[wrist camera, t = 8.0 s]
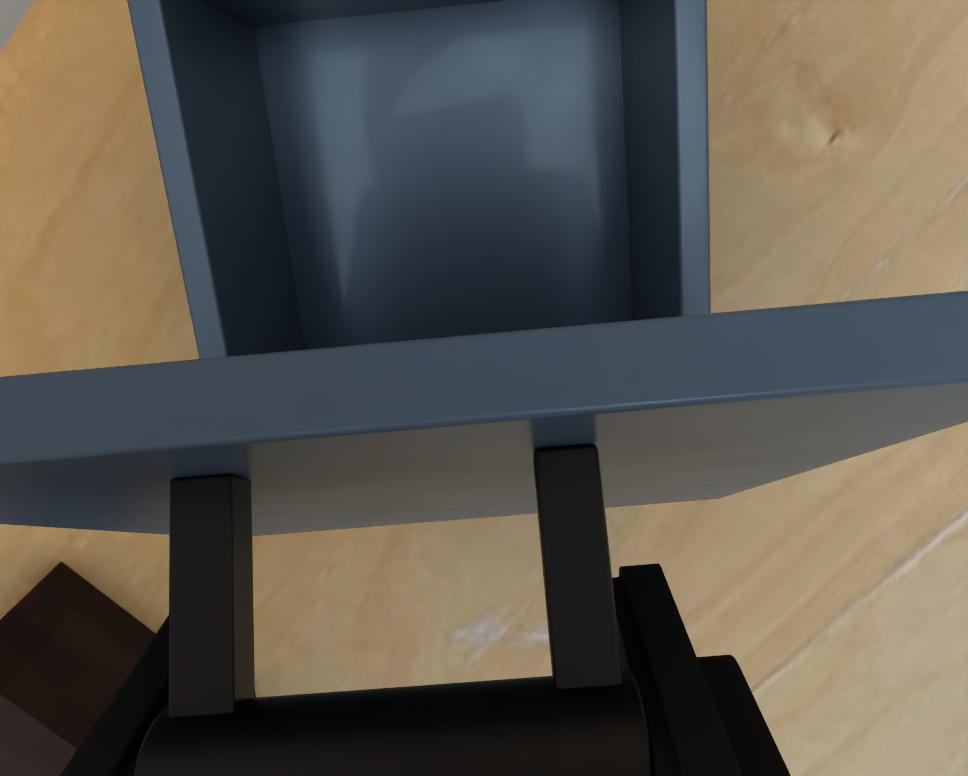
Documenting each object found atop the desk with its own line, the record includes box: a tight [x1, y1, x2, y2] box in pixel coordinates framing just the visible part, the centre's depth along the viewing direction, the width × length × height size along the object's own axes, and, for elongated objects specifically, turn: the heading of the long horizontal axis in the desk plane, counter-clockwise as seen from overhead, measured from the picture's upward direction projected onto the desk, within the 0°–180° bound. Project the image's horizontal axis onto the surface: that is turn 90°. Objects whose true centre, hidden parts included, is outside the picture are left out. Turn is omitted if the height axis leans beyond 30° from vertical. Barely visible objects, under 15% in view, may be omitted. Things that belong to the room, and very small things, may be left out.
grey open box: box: [127, 0, 711, 359], centre depth 25 cm, size 15×14×9 cm
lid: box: [0, 291, 968, 776], centre depth 14 cm, size 15×14×5 cm
